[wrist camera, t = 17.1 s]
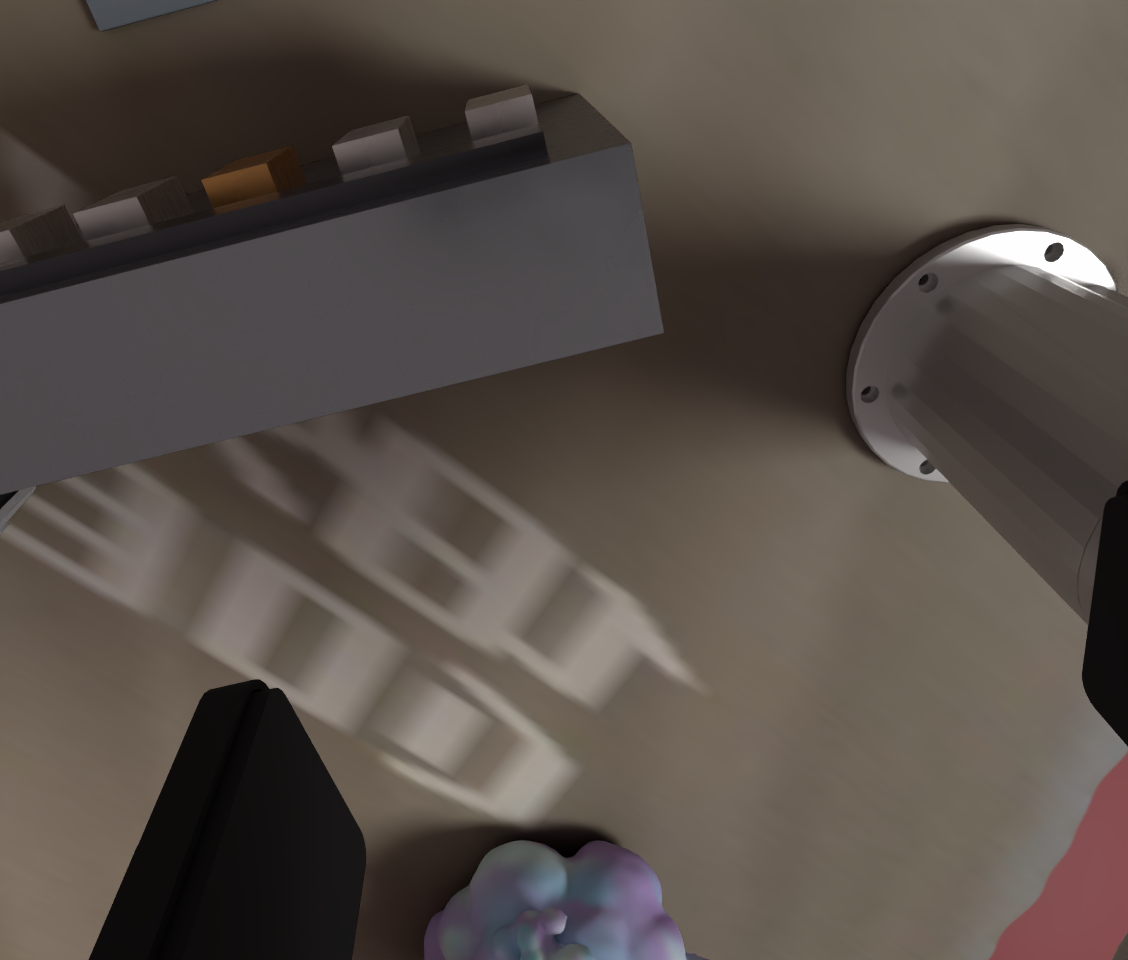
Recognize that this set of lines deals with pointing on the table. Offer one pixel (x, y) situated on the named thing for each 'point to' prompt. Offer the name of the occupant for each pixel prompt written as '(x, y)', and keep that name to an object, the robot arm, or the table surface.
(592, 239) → the breaker box
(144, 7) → the mat
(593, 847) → the grape bunch
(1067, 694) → the table surface
